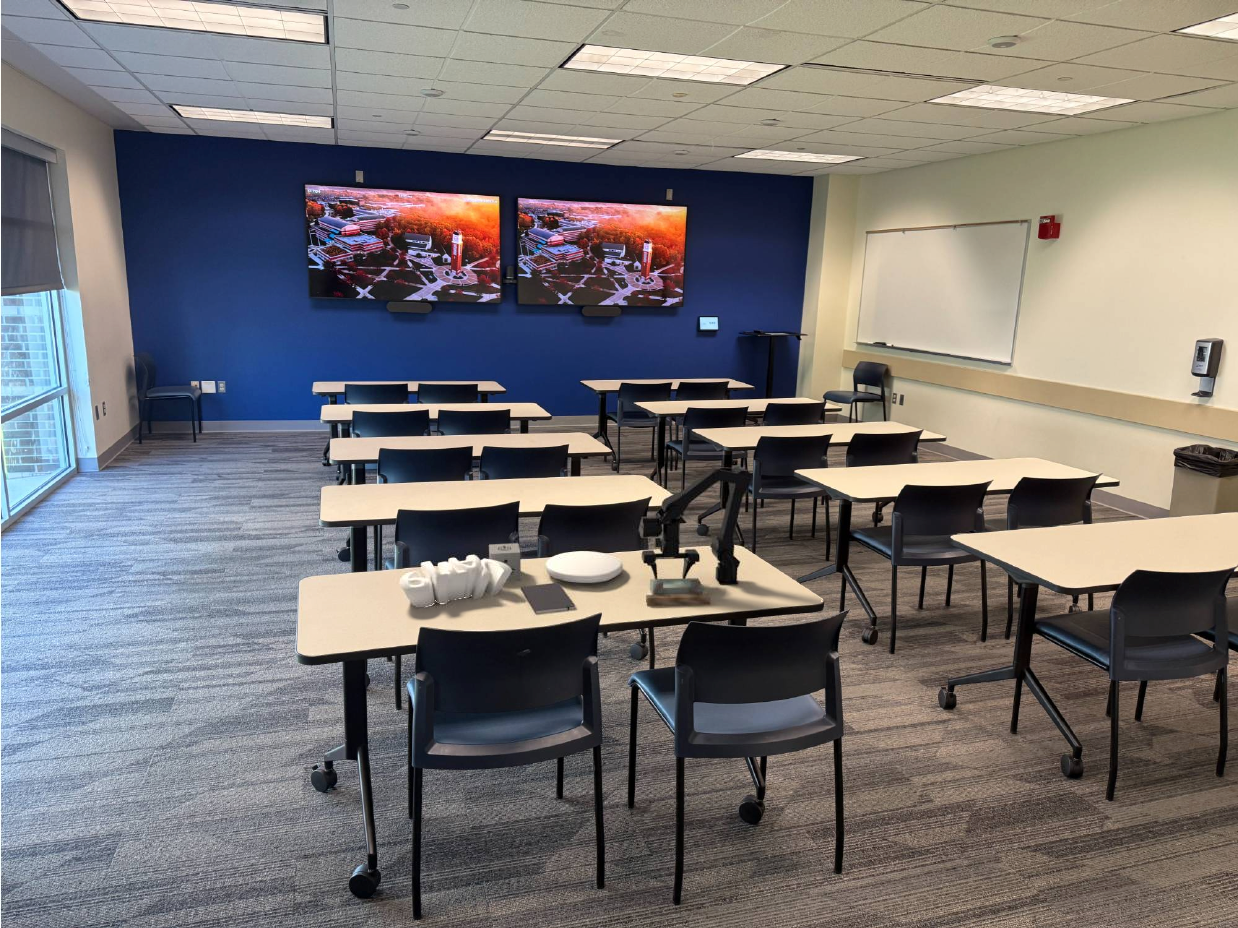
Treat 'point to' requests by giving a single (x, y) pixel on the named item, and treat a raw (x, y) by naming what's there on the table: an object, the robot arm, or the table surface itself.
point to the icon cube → (507, 558)
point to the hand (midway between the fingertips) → (669, 580)
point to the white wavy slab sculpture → (454, 580)
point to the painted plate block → (675, 586)
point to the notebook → (547, 598)
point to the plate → (583, 567)
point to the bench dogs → (677, 596)
